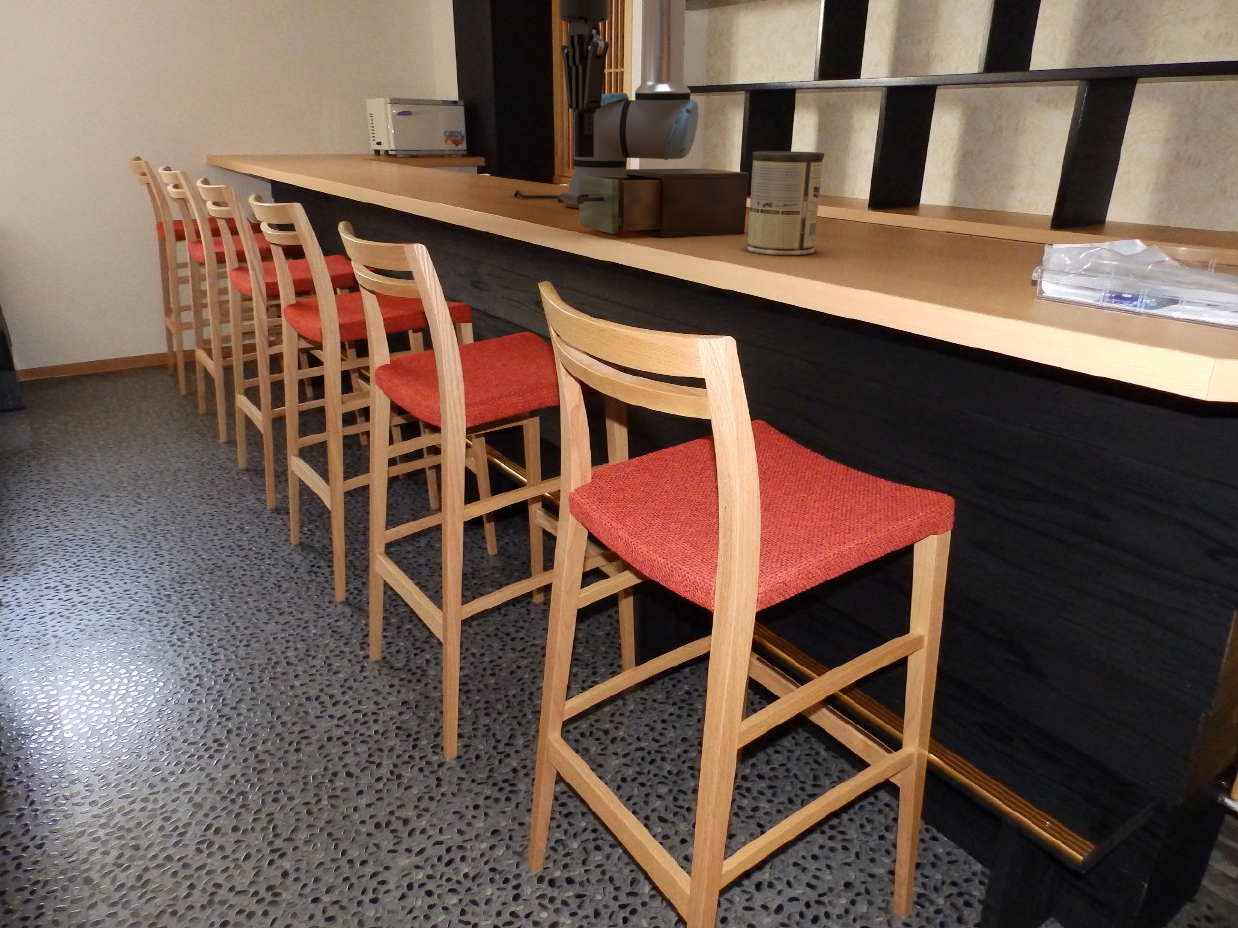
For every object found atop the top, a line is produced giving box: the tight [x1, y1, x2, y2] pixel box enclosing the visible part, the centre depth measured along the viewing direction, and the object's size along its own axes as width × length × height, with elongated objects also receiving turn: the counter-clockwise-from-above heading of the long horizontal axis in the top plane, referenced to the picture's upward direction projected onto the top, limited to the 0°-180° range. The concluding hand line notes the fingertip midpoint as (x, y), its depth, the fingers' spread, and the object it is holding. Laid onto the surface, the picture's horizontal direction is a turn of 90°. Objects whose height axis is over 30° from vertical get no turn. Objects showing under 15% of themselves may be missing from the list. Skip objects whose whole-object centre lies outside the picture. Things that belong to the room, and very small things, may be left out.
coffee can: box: [746, 150, 825, 256], centre depth 125 cm, size 10×10×14 cm
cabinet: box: [625, 168, 750, 239], centre depth 148 cm, size 17×14×10 cm
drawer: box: [559, 175, 662, 235], centre depth 143 cm, size 20×13×8 cm, turn 117°
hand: (584, 157), depth 137 cm, fingers closed
